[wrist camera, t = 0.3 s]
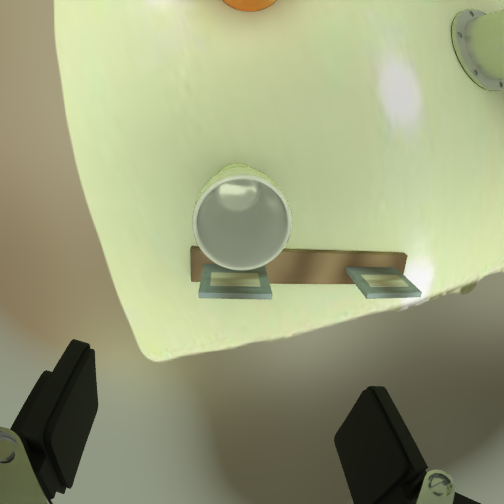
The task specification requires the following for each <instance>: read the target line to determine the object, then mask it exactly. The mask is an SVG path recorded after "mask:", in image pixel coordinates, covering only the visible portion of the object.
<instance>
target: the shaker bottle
mask: <svg viewBox="0 0 504 504" xmlns="http://www.w3.org/2000/svg"><path fill="white" fill-rule="evenodd" d="M223 1H224V2H225V3H227V4H228V5H229V6H231V7H233V8H235V9H238V10H243V11H257V10H261V9H265V8H267V7H269V6H270V5H272V4H273V3H274V2H275V1H276V0H223Z"/></svg>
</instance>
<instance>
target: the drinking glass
mask: <svg viewBox="0 0 504 504" xmlns="http://www.w3.org/2000/svg"><path fill="white" fill-rule="evenodd" d="M192 226H193V233H194V237H195V240H196V242H197V244H198V246H199V248H200V249H201V251H202V252H203V253H204V254H205V255H206V256H207V257H208V258H209V259H210V260H211V261H213V262H214V263H216V264H218V265H220V266H222V267H224V268H228V269H232V270H251V269H256V268H259V267H261V266H264V265H266V264H267V263H269V262H271V261H272V260H273V259H275V258H276V257H277V256H278V255H279V254H280V253H281V251H282V250H283V249H284V247H285V246H286V244H287V242H288V239H289V237H290V233H291V228H292V216H291V211H290V207H289V204H288V202H287V200H286V198H285V197H284V195H283V193H282V192H281V190H280V189H279V187H278V186H277V185H276V184H275V183H274V182H273V181H272V180H271V179H270V178H269V177H268V176H266V175H265V174H263V173H262V172H260V171H257V170H255V169H252V168H250V167H248V166H246V165H242V164H233V165H229V166H227V167H225V168H223V169H222V170H221V171H220V172H219V173H218V174H216V175H215V176H213V177H212V178H211V179H210V180H209V181H208V182H207V183H206V185H205V186H204V187H203V189H202V191H201V192H200V194H199V197H198V199H197V202H196V205H195V209H194V213H193V220H192Z"/></svg>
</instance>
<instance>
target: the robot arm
mask: <svg viewBox="0 0 504 504" xmlns="http://www.w3.org/2000/svg"><path fill="white" fill-rule="evenodd" d="M452 39H453V45H454V48H455V51H456V54H457V56H458V59H459V61H460V63H461V64H462V66H463V68H464V69H465V71H466V72H467V74H468V75H469V76H470V77H471V78H472V80H473V81H474V82H476V83H477V84H478V85H479V86H481V87H483V88H484V89H487V90H490V91H498V90H502V89H504V10H501V11H498V12H494V13H490V14H487V15H486V14H485V13H483V12H481V11H479V10H475V9H467V10H464V11H461V12H460V13H458V14H457V16H456V17H455V19H454V21H453V25H452ZM97 409H98V396H97V383H96V368H95V351H94V350H93V349H90V345H89V344H88V343H85V342H81V341H78V340H75V339H73V340H72V341H71V342H70V344H69V345H68V347H67V348H66V350H65V352H64V353H63V355H62V357H61V359H60V360H59V361H58V363H57V365H56V366H55V368H54V370H53V372H50V371H47V370H46V371H44V372H43V373H42V375H41V376H40V378H39V379H38V381H37V383H36V384H35V386H34V388H33V390H32V391H31V393H30V395H29V396H28V398H27V400H26V402H25V403H24V405H23V407H22V409H21V410H20V412H19V414H18V416H17V418H16V420H15V421H14V423H13V425H12V427H11V429H7V428H4V427H0V504H53V502H52V500H51V499H53V498H54V496H55V493H56V491H57V492H59V493H62V494H64V493H65V490H66V487H67V488H69V489H70V488H71V487H72V485H73V482H74V478H75V475H76V472H77V469H78V466H79V462H80V459H81V456H82V453H83V450H84V447H85V444H86V441H87V438H88V435H89V433H90V430H91V427H92V424H93V421H94V418H95V416H96V413H97ZM334 442H335V446H336V449H337V452H338V455H339V458H340V461H341V464H342V468H343V471H344V474H345V477H346V480H347V483H348V486H349V489H350V493H351V496H352V499H353V502H354V504H481V503H478V502H476V501H473V500H471V499H469V498H467V497H465V496H463V495H460V494H458V493H456V492H455V484H454V481H453V480H452V478H451V477H450V476H449V475H448V474H447V473H445V472H443V471H440V470H432V471H430V472H428V473H426V471H425V470H426V469H427V468H428V467H427V465H426V463H425V461H424V459H423V457H422V455H421V453H420V451H419V449H418V447H417V445H416V443H415V442H414V440H413V438H412V436H411V434H410V432H409V430H408V428H407V426H406V425H405V423H404V421H403V419H402V417H401V415H400V414H399V412H398V410H397V408H396V406H395V404H394V403H393V401H392V399H391V397H390V395H389V394H388V392H387V390H386V389H385V387H382V386H369V387H368V388H367V389H366V390H364V391H363V392H362V393H361V395H360V397H359V398H358V400H357V402H356V403H355V405H354V406H353V408H352V410H351V411H350V413H349V414H348V416H347V418H346V419H345V421H344V423H343V424H342V425H341V427H340V428H339V430H338V431H337V433H336V435H335V438H334Z"/></svg>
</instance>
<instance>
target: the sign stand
mask: <svg viewBox="0 0 504 504" xmlns="http://www.w3.org/2000/svg"><path fill="white" fill-rule="evenodd" d="M406 260H407V255H406V254H405V253H396V252H365V251H332V250H299V249H283V250H282V251H281V253H280V254H279V255H278V256H277V257H276V258H275V259H273V260H272V261H271V262H269V263H267V264H266V265H264V266H261V267H259V268H256V269H251V270H232V269H228V268H224V267H222V266H220V265H218V264H216V263H214V262H213V261H211V260H210V259H209V258H208V257H207V256H206V255H205V254H204V253H203V252H202V251H201V249H200V248H199V247H193V246H192V247H191V282H200V288H199V298H221V299H272V291H271V287H270V283H274V284H356V286H357V287H358V288H359V289H360V291H361V292H362V293H363V295H364V296H365V297H366V299H376V298H407V297H420V296H421V293H422V292H421V291H420V290H419V289H418V288H417V287H416V286H415V285H414V284H412V283H411V282H410V281H409V280H408V279H407V278H406V277H405V276H404V275H403V273H404V269H405V264H406Z"/></svg>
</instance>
